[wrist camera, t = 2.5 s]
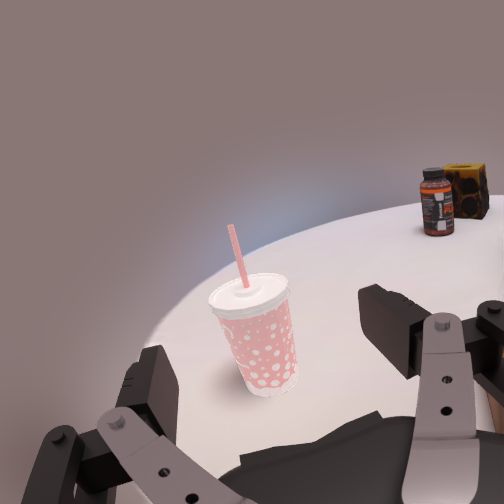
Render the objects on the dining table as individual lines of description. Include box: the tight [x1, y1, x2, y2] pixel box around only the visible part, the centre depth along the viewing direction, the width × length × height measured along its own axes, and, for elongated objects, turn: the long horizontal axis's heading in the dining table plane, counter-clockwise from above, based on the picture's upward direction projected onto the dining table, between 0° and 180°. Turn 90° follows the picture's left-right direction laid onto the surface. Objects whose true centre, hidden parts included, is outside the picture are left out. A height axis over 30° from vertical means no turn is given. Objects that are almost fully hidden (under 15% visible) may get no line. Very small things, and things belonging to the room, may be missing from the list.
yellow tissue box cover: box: [442, 164, 489, 219], centre depth 53 cm, size 10×10×10 cm
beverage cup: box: [209, 224, 298, 397], centre depth 24 cm, size 6×6×14 cm
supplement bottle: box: [420, 168, 454, 236], centre depth 47 cm, size 6×6×11 cm
